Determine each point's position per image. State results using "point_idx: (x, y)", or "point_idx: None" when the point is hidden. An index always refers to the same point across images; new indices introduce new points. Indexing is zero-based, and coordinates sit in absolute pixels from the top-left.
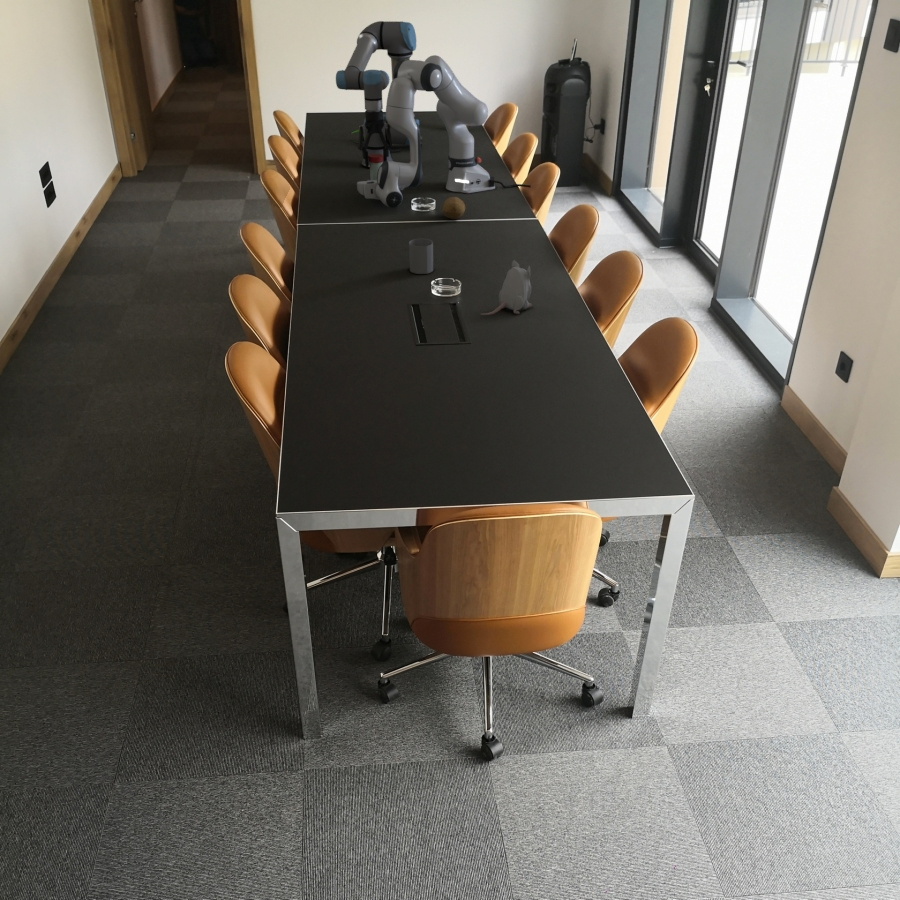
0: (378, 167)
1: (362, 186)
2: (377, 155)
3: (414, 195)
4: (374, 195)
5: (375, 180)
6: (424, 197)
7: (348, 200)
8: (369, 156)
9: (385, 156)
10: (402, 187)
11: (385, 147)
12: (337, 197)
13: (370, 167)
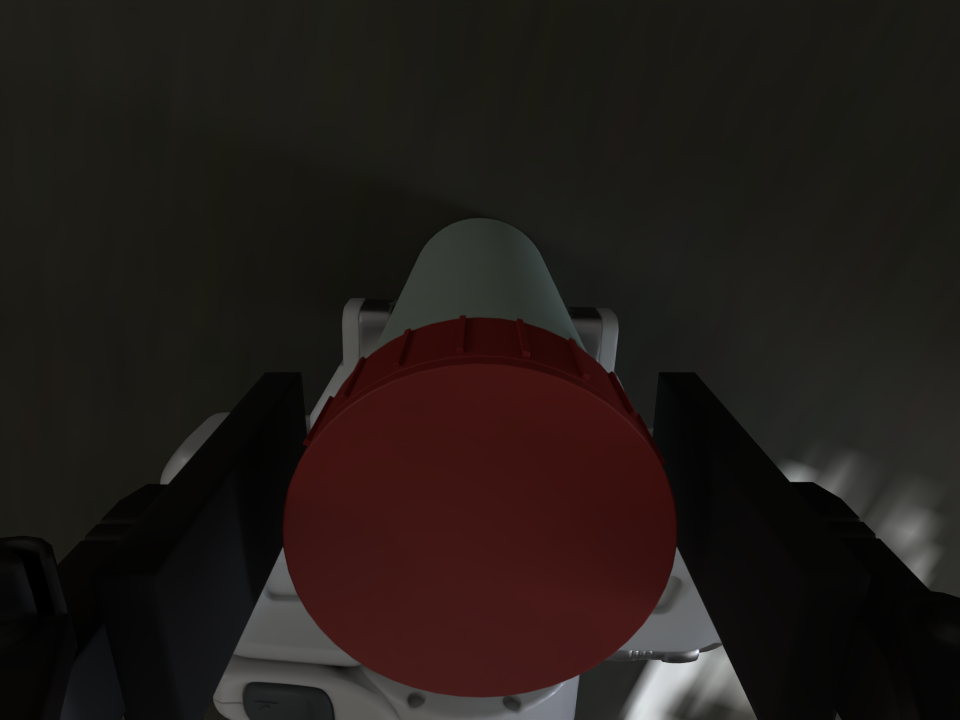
0: None
1: None
2: (526, 554)
3: (835, 395)
4: None
5: None
6: (885, 483)
7: (153, 327)
8: (292, 573)
9: (711, 601)
10: (671, 659)
11: (881, 715)
12: (40, 179)
13: None
